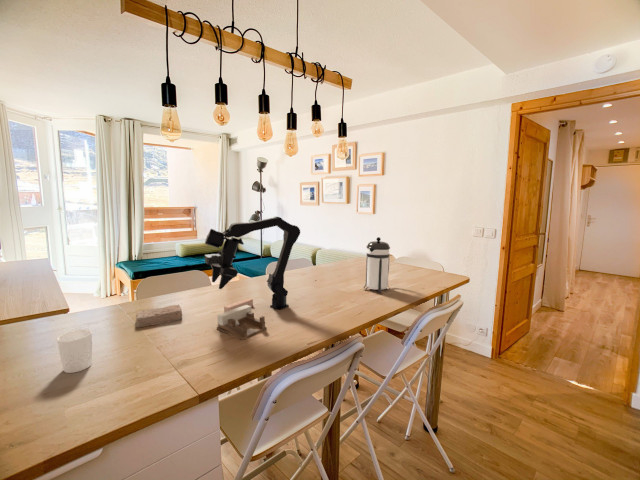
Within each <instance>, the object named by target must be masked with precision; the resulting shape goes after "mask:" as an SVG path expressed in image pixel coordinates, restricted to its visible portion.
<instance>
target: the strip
mask: <svg viewBox="0 0 640 480" xmlns="http://www.w3.org/2000/svg"><path fill="white" fill-rule="evenodd" d="M247 312H252V306H249V305H244V306H241V307H238V308H236V309H233V310H230V311H227V312H224V311H223V312H221V313H219V314H217V315H216V316H217V325H218V324H220V325H222V326H223V325H226V324H228V320H229V319H231V318H232V319H234V320H238V319H241V318H244V317H246V316H247Z"/></svg>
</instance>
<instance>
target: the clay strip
mask: <svg viewBox="0 0 640 480" xmlns="http://www.w3.org/2000/svg"><path fill="white" fill-rule="evenodd" d="M244 305H249V306H251V307H253V306H254V299H252V298H249V297H248V298H245V299H241V300H239V301H237V302H234V303H233V302H232V303H230V304H226V305H225V306H223V310H224V311H223V313H224V312H227V311H230V310H233V309H236V308H238V307H241V306H244Z"/></svg>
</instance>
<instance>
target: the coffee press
mask: <svg viewBox="0 0 640 480" xmlns="http://www.w3.org/2000/svg"><path fill="white" fill-rule="evenodd" d="M390 250H391V246H390V244H389V243H388V242H385V241H381V237H376V241H370V242H368V244H367V245H366V259H365V260H366V263H365V264H366V265H365V284H364V287H363V288H364V289H366V290H367V289H371V290H377V292H379V293H378V294H382V291H383V290H387V289H389V290H390V289H391V288H390V287H389V272H390Z"/></svg>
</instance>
